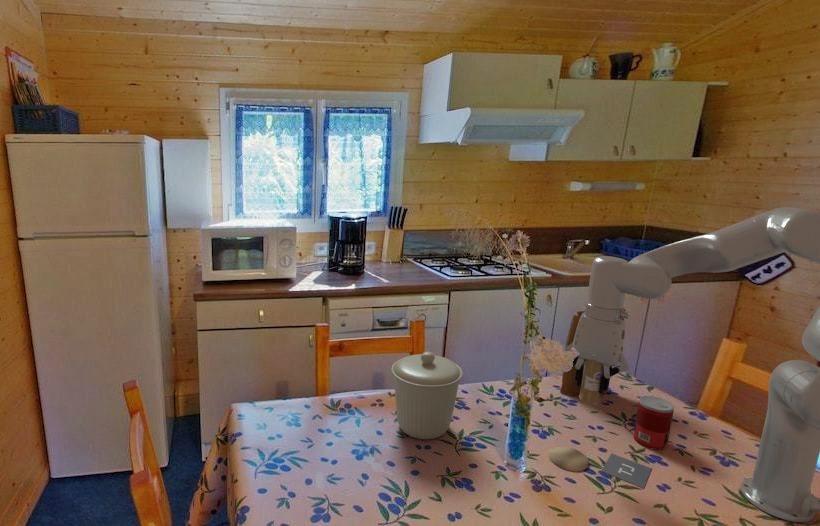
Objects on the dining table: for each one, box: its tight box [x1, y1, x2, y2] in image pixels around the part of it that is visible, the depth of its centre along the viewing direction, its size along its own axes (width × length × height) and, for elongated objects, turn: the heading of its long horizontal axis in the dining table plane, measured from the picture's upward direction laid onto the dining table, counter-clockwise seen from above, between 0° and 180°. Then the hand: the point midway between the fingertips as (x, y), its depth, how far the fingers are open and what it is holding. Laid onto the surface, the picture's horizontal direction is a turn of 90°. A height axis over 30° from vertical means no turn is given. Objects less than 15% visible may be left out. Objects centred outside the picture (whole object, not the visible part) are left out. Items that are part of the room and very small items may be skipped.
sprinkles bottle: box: [578, 354, 604, 405], centre depth 107 cm, size 5×5×13 cm
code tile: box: [601, 452, 652, 489], centre depth 109 cm, size 9×9×1 cm
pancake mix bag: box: [559, 308, 626, 397], centre depth 143 cm, size 7×19×28 cm, turn 101°
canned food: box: [633, 395, 675, 450], centre depth 120 cm, size 8×8×11 cm
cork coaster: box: [548, 445, 589, 472], centre depth 112 cm, size 9×9×1 cm
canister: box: [390, 351, 464, 440], centre depth 120 cm, size 18×18×21 cm
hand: (590, 387), depth 108 cm, fingers closed on sprinkles bottle, 4 cm apart
